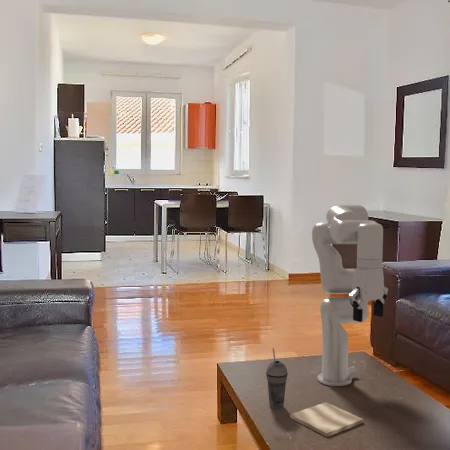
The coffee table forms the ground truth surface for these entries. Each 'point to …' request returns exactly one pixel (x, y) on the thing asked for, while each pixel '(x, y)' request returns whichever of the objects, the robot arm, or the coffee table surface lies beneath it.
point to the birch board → (326, 419)
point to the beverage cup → (276, 383)
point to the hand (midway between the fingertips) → (368, 318)
